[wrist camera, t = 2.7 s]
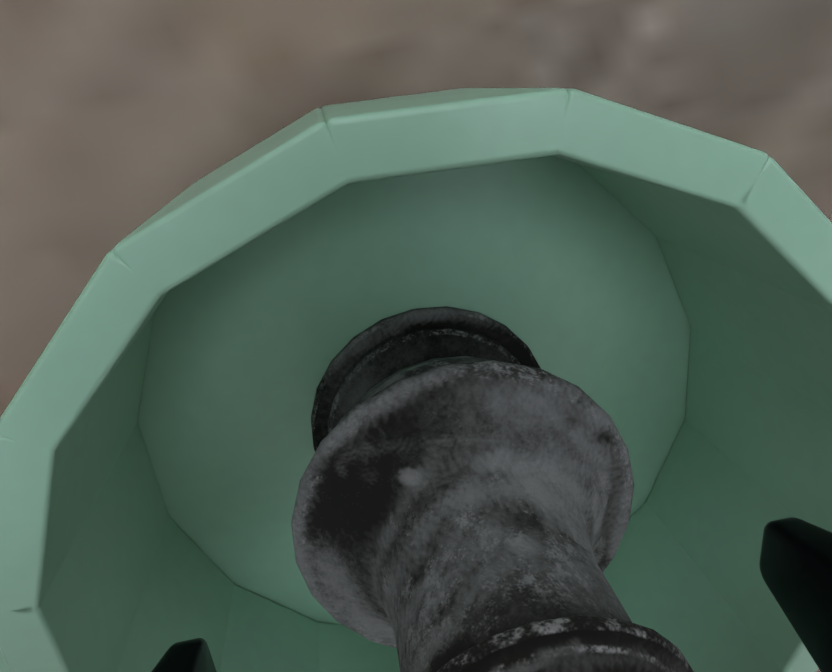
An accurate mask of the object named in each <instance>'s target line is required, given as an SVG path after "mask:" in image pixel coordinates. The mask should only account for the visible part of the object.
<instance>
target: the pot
mask: <svg viewBox="0 0 832 672" xmlns="http://www.w3.org/2000/svg"><path fill="white" fill-rule="evenodd" d="M444 306H448V307H454V308H459V309H464V310H470V311H475V312H479V313H481V314H483V315H485V316H487V317H489V318H491V319H493V320H496V321H498V322H500V323H502V324H504V325H506V326H507V327H508V328H509V329H510V330H511V331H512V332H513V333H514V334H515V335H517V336H518V337H519V338H520V339H521V340H522V341H523V342H524V343H525V344H526V345H527V346H528V347H529V349H530V350H531V352H532V354H533V355H534V357H535V359H536V361H537V362H538V364H539V366H540V367H541V369H543V370H545V371H547V372H549V373H551V374H553V375H555V376H557V377H560V378H562V379H564V380H566V381H568V382H570V383H572V384H574V385H576V386H579V387H580V388H581V389H582V390H583V391H584V392H585V393H586V394H587V395H588V396H589V397H590V398H592V399H593V400H594V401H595V402H596V403H597V404H598V405H599V406H600V407H601V408H602V409H603V410H605V411H606V412H607V413H608V414H609V415H610V417H611V419H612V420H613V422H614V424H615V426H616V428H617V430H618V431H619V433H620V435H621V437H622V439H623V441H624V442H625V444H626V446H627V448H628V451H629V457H630V463H631V468H632V474H633V480H634V491H633V499H632V506H631V514H630V521H629V523H628V526H627V528H626V530H625V533H624V535H623V537H622V540H621V542H620V544H619V547H618V549H617V552H616V554H615V556H614V558H613V559H612V561H611V562H610V564H609V565H608V566H607V568H606V569H605V570H604V572H603V574H604V576H605V577H606V579H607V581H608V582H609V584H610V586H611V587H612V589H613V591H614V592H615V594H616V596H617V597H618V599H619V601H620V602H621V604H622V606H623V607H624V609H625V611H626V612H627V614H628V616H629V617H630V619H631V621H632V622H633V623H635V624H638V625H641V626H644V627H647V628H650V629H654V630H655V631H656V632H658V633H659V634H661V635H662V636H663V637H665V638H666V639H667V640H669V641H670V642H672V643H673V644H674V645H676V646H677V647H678V648H679V649H680V650H681V652H682V653H683V655H684V657H685V658H686V660H687V661H688V663H689V665H690V666H691V668H692V669H693V671H694V672H816V671H817V670H818V666H817V665H816V663H815V662H814V660H813V658H812V657H811V655H810V654H809V652H808V650H807V649H806V647H805V646H804V644H803V642H802V641H801V639H800V638H799V636H798V634H797V633H796V631H795V630H794V628H793V626H792V625H791V623H790V622H789V620H788V618H787V617H786V615H785V614H784V612H783V610H782V609H781V607H780V606H779V604H778V602H777V601H776V599H775V598H774V596H773V594H772V593H771V591H770V590H769V588H768V586H767V585H766V583H765V581H764V580H763V577H762V575H761V572H760V566H759V561H760V554H761V546H762V539H763V531H764V527H765V526H766V524H767V523H768V522H770V521H774V520H779V519H784V518H789V517H795V518H799V519H801V520H804V521H806V522H809V523H811V524H813V525H816V526H818V527H820V528H823V529H825V530H827V531H830V532H832V223H831V222H830V220H829V219H828V218H827V217H826V216H825V215H824V214H823V213H822V212H821V211H820V210H819V208H818V207H817V206H816V205H815V204H814V203H813V202H812V201H811V200H810V199H809V197H808V196H807V195H806V194H805V193H804V192H803V191H802V190H801V189H800V188H799V187H798V185H797V184H796V183H795V182H794V181H793V180H792V179H791V178H790V177H789V176H788V174H787V173H786V172H785V171H784V170H783V169H782V168H781V167H780V166H779V165H778V164H777V162H776V161H775V160H774V159H773V158H771V157H768V155H767V154H766V153H765V152H763V151H760V150H757V149H754V148H751V147H748V146H745V145H742V144H739V143H736V142H733V141H730V140H727V139H724V138H721V137H718V136H715V135H712V134H709V133H706V132H703V131H700V130H697V129H694V128H691V127H688V126H685V125H682V124H679V123H676V122H673V121H670V120H667V119H664V118H661V117H658V116H655V115H652V114H649V113H646V112H643V111H640V110H637V109H634V108H631V107H628V106H625V105H622V104H619V103H616V102H613V101H610V100H607V99H604V98H601V97H598V96H595V95H592V94H589V93H586V92H583V91H580V90H577V89H563V88H460V89H452V90H444V91H436V92H428V93H420V94H412V95H404V96H393V97H387V98H380V99H372V100H365V101H357V102H349V103H341V104H333V105H325V106H323V107H321V109H320V108H316V109H314V110H312V111H311V112H309V113H307V114H306V115H304V116H303V117H301V118H299V119H298V120H296V121H294V122H293V123H291V124H289V125H288V126H286V127H285V128H283V129H281V130H280V131H278V132H276V133H275V134H273V135H271V136H270V137H268V138H266V139H265V140H263V141H261V142H259V143H257V144H256V145H254V146H253V147H252V148H250V149H248V150H247V151H245V152H244V153H242V154H240V155H239V156H237V157H235V158H234V159H232V160H230V161H229V162H227V163H225V164H224V165H222V166H221V167H219V168H217V169H216V170H214V171H212V172H211V173H209V174H207V175H206V176H204V177H203V178H201V179H199V180H198V181H196V182H195V183H193V184H192V185H191V186H190V187H188V188H187V189H186V190H184V191H183V192H182V193H181V194H179V195H178V196H177V197H176V198H174V199H173V200H172V201H171V202H169V203H168V204H167V205H165V206H164V207H163V208H162V209H160V210H159V211H158V212H157V213H155V214H154V215H153V216H152V217H150V218H149V219H148V220H146V221H145V222H144V223H143V224H141V225H140V226H139V227H138V228H136V229H135V230H134V231H133V232H131V233H130V234H129V235H127V236H126V237H125V238H124V239H122V240H121V241H120V242H119V243H117V244H116V246H115V247H114V248H113V249H112V250H111V251H109V252H108V253H107V254H106V255H105V257H104V259H103V260H102V262H101V263H100V265H99V266H98V268H97V269H96V271H95V272H94V274H93V275H92V277H91V279H90V280H89V282H88V283H87V285H86V286H85V288H84V289H83V291H82V292H81V294H80V295H79V297H78V299H77V300H76V302H75V303H74V305H73V306H72V308H71V309H70V311H69V312H68V314H67V315H66V317H65V319H64V320H63V322H62V323H61V325H60V326H59V328H58V329H57V331H56V332H55V334H54V335H53V337H52V339H51V340H50V342H49V343H48V345H47V346H46V348H45V349H44V351H43V352H42V354H41V355H40V357H39V359H38V360H37V362H36V363H35V365H34V366H33V368H32V369H31V371H30V372H29V374H28V375H27V377H26V379H25V380H24V382H23V383H22V385H21V386H20V388H19V389H18V391H17V392H16V394H15V395H14V397H13V399H12V400H11V402H10V403H9V405H8V406H7V408H6V409H5V411H4V412H3V414H2V415H1V417H0V672H151V671H152V670H153V669H154V667H155V666H156V665H157V663H158V662H159V661H160V659H161V658H162V657H163V655H164V654H165V653H166V651H167V650H168V649H169V648H170V647H171V646H172V645H173V644H174V643H177V642H181V641H186V640H191V639H196V638H203V639H204V640H205V641H206V642H207V644H208V647H209V650H210V653H211V656H212V659H213V662H214V665H215V668H216V671H217V672H400V666H399V659H398V652H397V648H394V647H390V646H386V645H383V644H379V643H376V642H372V641H370V640H368V639H366V638H365V637H363V636H361V635H359V634H358V633H356V632H354V631H352V630H351V629H349V628H347V627H345V626H344V625H342V624H340V623H339V622H337V621H336V620H335V619H334V618H333V617H332V616H331V615H330V614H329V613H328V612H327V611H326V610H325V609H324V608H323V606H322V605H321V604H320V603H319V602H318V601H317V600H316V599H315V598H314V597H313V596H312V595H311V593H310V591H309V589H308V587H307V584H306V582H305V580H304V578H303V576H302V574H301V572H300V570H299V568H298V566H297V564H296V560H295V552H294V543H293V535H292V526H291V520H292V515H293V510H294V506H295V501H296V496H297V491H298V486H299V481H300V479H301V477H302V475H303V473H304V472H305V470H306V468H307V466H308V464H309V463H310V461H311V459H312V457H313V455H314V453H315V450H314V447H313V437H312V426H311V414H312V409H313V404H314V399H315V394H316V390H317V387H318V385H319V383H320V381H321V379H322V377H323V375H324V374H325V372H326V370H327V368H328V366H329V364H330V362H331V361H332V359H333V358H334V357H335V356H336V355H337V354H338V353H339V352H340V351H341V350H342V349H343V348H344V347H345V346H346V345H347V344H348V342H349V341H350V340H351V339H352V338H353V337H354V336H356V335H358V334H359V333H361V332H362V331H364V330H366V329H367V328H369V327H370V326H372V325H373V324H375V323H377V322H378V321H380V320H381V319H384V318H387V317H390V316H393V315H396V314H399V313H402V312H405V311H408V310H411V309H416V308H430V307H444Z"/></svg>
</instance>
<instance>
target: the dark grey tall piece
mask: <svg viewBox="0 0 832 672" xmlns="http://www.w3.org/2000/svg"><path fill="white" fill-rule="evenodd" d="M311 426H312V437H313V447H314V450H315V453H314V455H313V457H312V459H311V461H310V463H309V464H308V466H307V468H306V470H305V472H304V473H303V475H302V477H301V479H300V481H299V486H298V491H297V496H296V501H295V506H294V510H293V515H292V520H291V526H292V535H293V543H294V552H295V560H296V564H297V566H298V568H299V570H300V572H301V574H302V576H303V578H304V580H305V582H306V584H307V587H308V589H309V591H310V593H311V595H312V596H313V597H314V598H315V599H316V600H317V601H318V602H319V603H320V604H321V605H322V606H323V608H324V609H325V610H326V611H327V612H328V613H329V614H330V615H331V616H332V617H333V618H334V619H335V620H336V621H337V622H339V623H340V624H342V625H344V626H345V627H347V628H349V629H351V630H352V631H354V632H356V633H358V634H359V635H361V636H363V637H365V638H366V639H368V640H370V641H372V642H376V643H379V644H383V645H386V646H390V647H394V648H397V652H398V659H399V666H400V672H694V671H693V669H692V668H691V666H690V665H689V663H688V661H687V660H686V658H685V657H684V655H683V653H682V652H681V650H680V649H679V648H678V647H677V646H676V645H674V644H673V643H672V642H670V641H669V640H667V639H666V638H665V637H663V636H662V635H661V634H659V633H658V632H656V631H655V630H654V629H650V628H647V627H644V626H641V625H638V624H635V623H633V622H632V621H631V619H630V617H629V616H628V614H627V612H626V611H625V609H624V607H623V606H622V604H621V602H620V601H619V599H618V597H617V596H616V594H615V592H614V591H613V589H612V587H611V586H610V584H609V582H608V581H607V579H606V577H605V576H604V574H603V572H604V570H605V569H606V568H607V566H608V565H609V564H610V562H611V561H612V559H613V558H614V556H615V554H616V552H617V549H618V547H619V544H620V542H621V540H622V537H623V535H624V533H625V530H626V528H627V526H628V523H629V521H630V514H631V506H632V499H633V491H634V480H633V474H632V468H631V463H630V457H629V451H628V448H627V446H626V444H625V442H624V441H623V439H622V437H621V435H620V433H619V431H618V430H617V428H616V426H615V424H614V422H613V420H612V419H611V417H610V415H609V414H608V413H607V412H606V411H605V410H603V409H602V408H601V407H600V406H599V405H598V404H597V403H596V402H595V401H594V400H593V399H592V398H590V397H589V396H588V395H587V394H586V393H585V392H584V391H583V390H582V389H581V388H580V387H579V386H576V385H574V384H572V383H570V382H568V381H566V380H564V379H562V378H560V377H557V376H555V375H553V374H551V373H549V372H547V371H545V370H543V369H541V367H540V366H539V364H538V362H537V361H536V359H535V357H534V355H533V354H532V352H531V350H530V349H529V347H528V346H527V345H526V344H525V343H524V342H523V341H522V340H521V339H520V338H519V337H518V336H517V335H515V334H514V333H513V332H512V331H511V330H510V329H509V328H508V327H507V326H506V325H504V324H502V323H500V322H498V321H496V320H493V319H491V318H489V317H487V316H485V315H483V314H481V313H479V312H475V311H470V310H464V309H459V308H454V307H448V306H444V307H430V308H416V309H411V310H408V311H405V312H402V313H399V314H396V315H393V316H390V317H387V318H384V319H381V320H380V321H378V322H377V323H375V324H373V325H372V326H370V327H369V328H367V329H366V330H364V331H362V332H361V333H359V334H358V335H356V336H354V337H353V338H352V339H351V340H350V341H349V342H348V344H347V345H346V346H345V347H344V348H343V349H342V350H341V351H340V352H339V353H338V354H337V355H336V356H335V357H334V358H333V359H332V361H331V362H330V364H329V366H328V368H327V370H326V372H325V374H324V375H323V377H322V379H321V381H320V383H319V385H318V387H317V390H316V394H315V399H314V404H313V409H312V414H311Z"/></svg>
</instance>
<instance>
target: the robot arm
mask: <svg viewBox="0 0 832 672" xmlns="http://www.w3.org/2000/svg"><path fill="white" fill-rule="evenodd" d="M759 566H760V572H761V575H762V577H763V580H764V581H765V583H766V585H767V586H768V588H769V590H770V591H771V593H772V594H773V596H774V598H775V599H776V601H777V602H778V604H779V606H780V607H781V609H782V610H783V612H784V614H785V615H786V617H787V618H788V620H789V622H790V623H791V625H792V626H793V628H794V630H795V631H796V633H797V634H798V636H799V638H800V639H801V641H802V642H803V644H804V646H805V647H806V649H807V650H808V652H809V654H810V655H811V657H812V658H813V660H814V662H815V663H816V665H817V666H818V668H819V669H820V671H821V672H832V532H830V531H827V530H825V529H823V528H820V527H818V526H816V525H813V524H811V523H809V522H806V521H804V520H801V519H799V518H795V517H789V518H784V519H779V520H774V521H770V522H768V523H767V524H766V526H765V527H764V531H763V539H762V546H761V554H760V561H759ZM151 672H217V671H216V668H215V665H214V662H213V659H212V656H211V653H210V650H209V647H208V644H207V642H206V641H205V640H204V639H203V638H196V639H191V640H186V641H181V642H177V643H174V644H173V645H172V646H171V647H170V648H169V649H168V650H167V651H166V653H165V654H164V655H163V657H162V658H161V659H160V661H159V662H158V663H157V665H156V666H155V667H154V669H153V670H152V671H151Z"/></svg>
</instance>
